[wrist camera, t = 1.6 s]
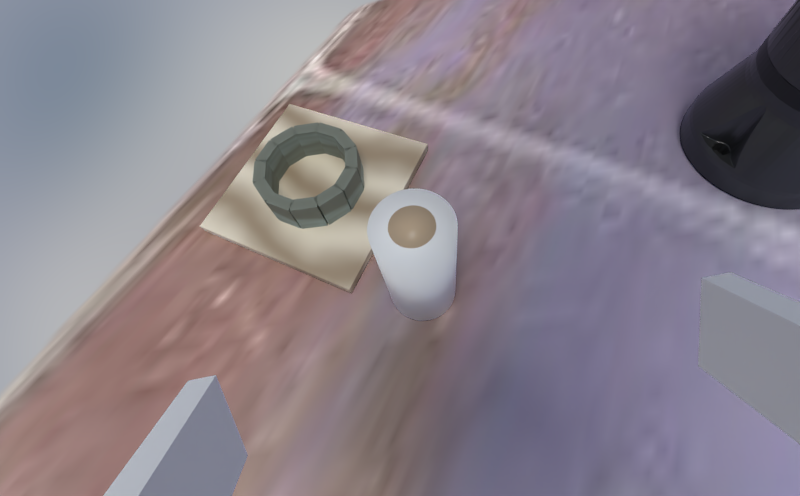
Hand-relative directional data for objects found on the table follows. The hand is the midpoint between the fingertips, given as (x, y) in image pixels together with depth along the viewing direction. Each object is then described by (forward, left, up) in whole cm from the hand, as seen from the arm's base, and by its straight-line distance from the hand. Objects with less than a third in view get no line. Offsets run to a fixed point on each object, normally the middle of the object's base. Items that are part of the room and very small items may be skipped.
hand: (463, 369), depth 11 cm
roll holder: (-15, -22, -24) cm, 36 cm away
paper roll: (-9, -7, -24) cm, 26 cm away
